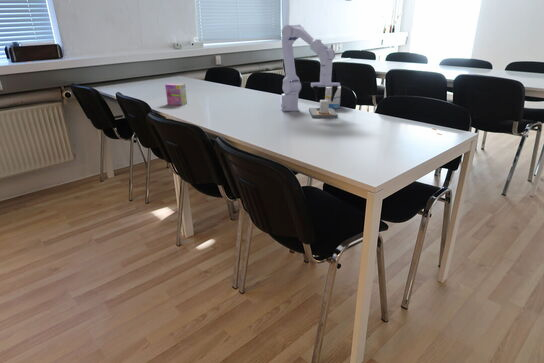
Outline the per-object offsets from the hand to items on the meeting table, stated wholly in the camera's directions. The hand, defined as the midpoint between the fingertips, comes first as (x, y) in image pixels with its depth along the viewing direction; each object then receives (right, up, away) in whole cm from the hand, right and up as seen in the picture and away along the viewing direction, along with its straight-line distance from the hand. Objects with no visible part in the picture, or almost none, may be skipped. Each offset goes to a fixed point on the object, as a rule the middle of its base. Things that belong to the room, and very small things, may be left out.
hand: (324, 101), depth 194 cm
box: (-84, +5, +33) cm, 91 cm away
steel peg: (0, -7, +3) cm, 8 cm away
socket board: (0, -5, +7) cm, 9 cm away
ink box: (+8, +2, +24) cm, 26 cm away
